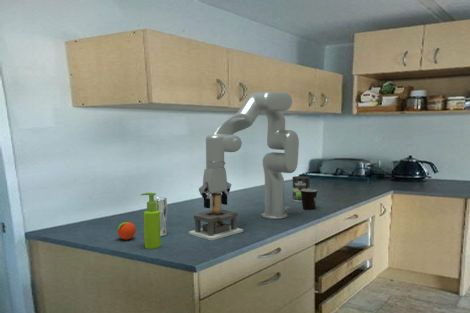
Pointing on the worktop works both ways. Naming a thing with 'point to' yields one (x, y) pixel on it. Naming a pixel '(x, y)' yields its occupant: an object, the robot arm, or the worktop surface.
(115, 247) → the worktop surface
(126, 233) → the clementine
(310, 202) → the coffee mug
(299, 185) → the coffee can
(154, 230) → the soap dispenser
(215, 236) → the collar stand
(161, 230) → the beer glass
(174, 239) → the worktop surface
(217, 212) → the thermos bottle
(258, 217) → the worktop surface
